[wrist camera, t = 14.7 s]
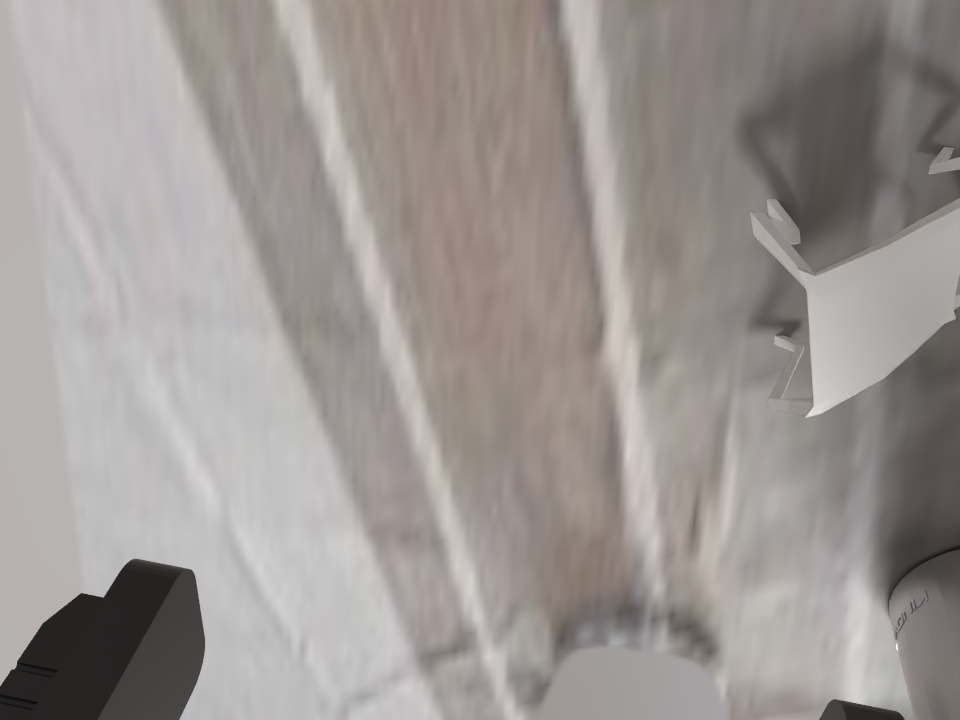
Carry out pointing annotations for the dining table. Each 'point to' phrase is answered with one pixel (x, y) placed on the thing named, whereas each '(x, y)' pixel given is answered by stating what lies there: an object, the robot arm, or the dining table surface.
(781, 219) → the white arched piece
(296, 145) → the dining table surface
